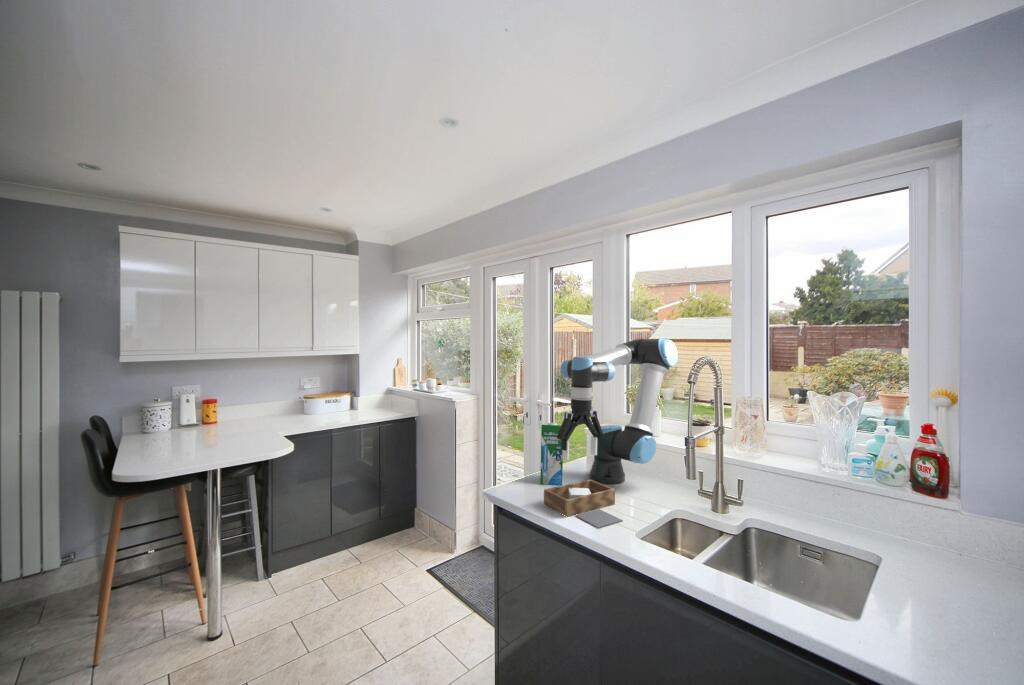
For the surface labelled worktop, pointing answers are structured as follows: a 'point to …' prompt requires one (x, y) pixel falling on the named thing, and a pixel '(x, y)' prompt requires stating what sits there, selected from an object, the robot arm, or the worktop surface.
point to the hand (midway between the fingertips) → (580, 456)
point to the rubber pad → (599, 518)
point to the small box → (577, 492)
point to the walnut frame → (579, 498)
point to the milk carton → (551, 455)
